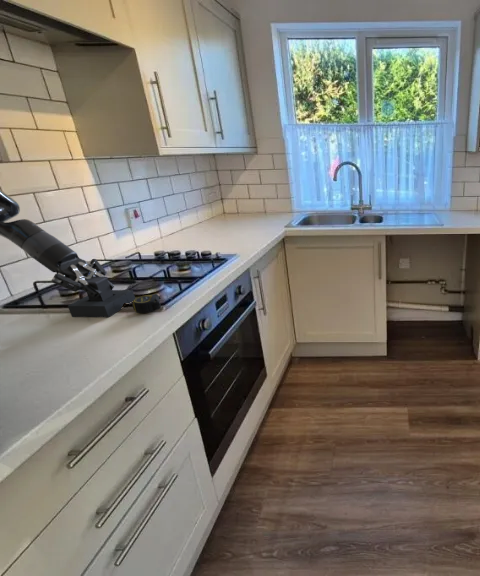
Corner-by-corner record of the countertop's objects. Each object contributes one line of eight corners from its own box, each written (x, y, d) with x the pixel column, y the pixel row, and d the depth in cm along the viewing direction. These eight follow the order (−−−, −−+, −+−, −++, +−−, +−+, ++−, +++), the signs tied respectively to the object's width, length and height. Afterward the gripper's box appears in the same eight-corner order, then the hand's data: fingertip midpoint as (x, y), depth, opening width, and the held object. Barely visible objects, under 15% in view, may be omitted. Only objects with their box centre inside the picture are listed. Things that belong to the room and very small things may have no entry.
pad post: (106, 310, 104) (95, 282, 101) (92, 310, 105) (81, 282, 101) (117, 304, 108) (107, 276, 104) (104, 304, 108) (93, 276, 105)
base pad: (108, 317, 101) (104, 306, 99) (71, 316, 102) (67, 305, 100) (136, 300, 111) (132, 290, 110) (102, 300, 112) (98, 289, 110)
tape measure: (162, 312, 103) (158, 300, 102) (134, 318, 100) (130, 305, 99) (162, 303, 109) (159, 291, 107) (135, 308, 106) (131, 297, 104)
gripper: (30, 250, 92) (91, 294, 96) (77, 235, 105) (129, 274, 109) (20, 270, 95) (79, 311, 99) (67, 253, 108) (118, 290, 112)
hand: (105, 291), depth 104 cm, fingers closed on pad post, 4 cm apart
